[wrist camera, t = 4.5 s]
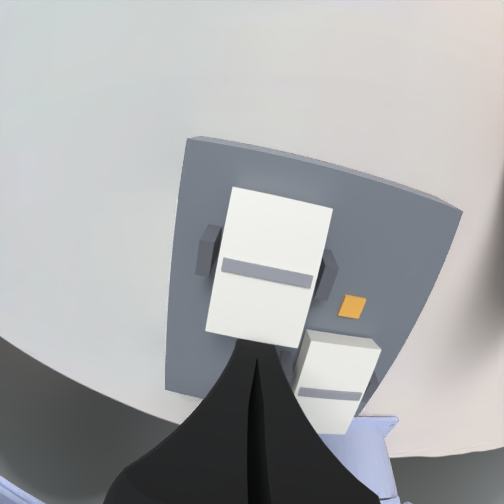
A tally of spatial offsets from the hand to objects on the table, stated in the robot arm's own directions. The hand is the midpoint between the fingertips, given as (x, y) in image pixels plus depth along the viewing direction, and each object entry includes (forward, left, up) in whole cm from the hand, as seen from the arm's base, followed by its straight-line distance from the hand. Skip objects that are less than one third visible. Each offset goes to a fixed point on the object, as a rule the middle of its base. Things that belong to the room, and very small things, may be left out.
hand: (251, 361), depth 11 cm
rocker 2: (-4, -5, -3) cm, 7 cm away
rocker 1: (+2, 0, -3) cm, 4 cm away
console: (-1, -3, -8) cm, 9 cm away
